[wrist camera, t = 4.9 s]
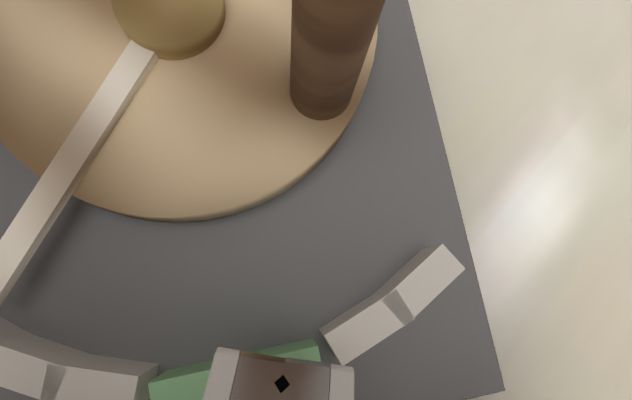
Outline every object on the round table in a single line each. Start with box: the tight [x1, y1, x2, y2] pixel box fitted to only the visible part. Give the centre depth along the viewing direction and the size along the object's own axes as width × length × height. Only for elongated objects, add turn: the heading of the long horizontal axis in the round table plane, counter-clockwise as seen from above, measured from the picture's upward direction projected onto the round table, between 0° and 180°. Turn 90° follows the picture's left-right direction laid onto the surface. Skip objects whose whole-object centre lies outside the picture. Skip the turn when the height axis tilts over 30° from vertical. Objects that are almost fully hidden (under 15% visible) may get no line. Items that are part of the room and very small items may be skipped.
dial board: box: [0, 0, 505, 400], centre depth 22 cm, size 27×21×4 cm
